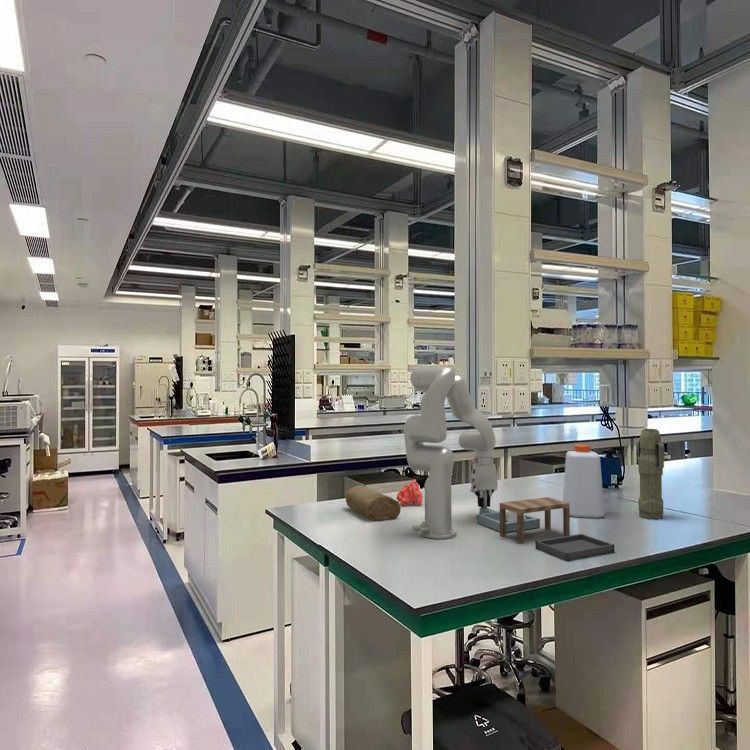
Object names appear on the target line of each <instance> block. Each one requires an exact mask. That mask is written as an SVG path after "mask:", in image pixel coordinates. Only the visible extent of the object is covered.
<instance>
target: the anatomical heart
mask: <svg viewBox="0 0 750 750" xmlns="http://www.w3.org/2000/svg"><path fill="white" fill-rule="evenodd" d="M396 501H398V502H399V503H400V506H409V505H410V504H413V505H415V504H417V506H418V507H420V506H422V505H423V492H422V491H421V490H420V485H419V483H418V482H417V479H412V480H411V481H410V483H408V484H407V483H406V484H404V487H403V488H401V489H399V491H398V492H397V494H396Z"/></svg>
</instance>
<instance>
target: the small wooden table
mask: <svg viewBox="0 0 750 750" xmlns="http://www.w3.org/2000/svg"><path fill="white" fill-rule="evenodd" d="M560 509H562V511H563V512H562V517H563V519H562V523H563V524H562V525H563V526H562V529H563V530H562V531H563V532H562V533H563V536H564V537H565V536H571V535H570V531H571V530H570V529H571V528H570V525H571V523H570V521H571V520H570V517H571V516H570V506H569V503H567V502H564V501H563V500H560V499H557V498H552V497H548V496H546V497H537V498H530V499H529V498H528V499H522V500H513V501H504V502H499V512H500V520H499V521H500V531H499V536H501V537H506V536H507V532H506V510H509V511H512V512H515V513H517V531H516V542H517V544H519V545H520V544H524V541H525V540H524V534H525V533H524V530H525V529H524V526H523V514H530V513H538V512H544V529H546V530H552V528H551V527H552V525H551V523H552V521H551V520H552V517H551V516H552V515H551V512H552V510H560Z"/></svg>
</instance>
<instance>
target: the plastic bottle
mask: <svg viewBox="0 0 750 750" xmlns="http://www.w3.org/2000/svg"><path fill="white" fill-rule="evenodd" d="M564 464H565V465H564V477H563V478H564V479H563V481H564V483H563V496H562V501H564V502H567V503H569V506H570V517H572V518H585V519H587V518H588V519H590V518H591V519H600V518H603V517H604V516H605V504H604V491H603V489H604V488H603V479H602V467H601V466H602V465H601V456H600V454H598V453H597V452H595V451H591V445H589V444H575V445H574V450H568V451H567V452H566V454H565V463H564Z"/></svg>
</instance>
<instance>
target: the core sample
mask: <svg viewBox="0 0 750 750" xmlns="http://www.w3.org/2000/svg"><path fill="white" fill-rule="evenodd" d="M345 502H346V505H347V507H348V508H350V509H352V510H353V511H355V512H357V513H359V514H360V515H362V516H364V517H366V518H368V519H371V520H373V521H376V522H379V521H380V522H381V521H382V522H383V521H392V520H394V519H397V518H398V517H399V515H400V513H401V509H402V507H401V506H402V505H401V504H400V502H398V500H397V499H395V498H393V497H392V496H388V495H385V494H383V493H381V492H379V491H377V490H374V489H372V488H369V487H367V486H364V485H356V486H353V487H351V488H350V489H349V490H348V491H347V492H346V493H345Z"/></svg>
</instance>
